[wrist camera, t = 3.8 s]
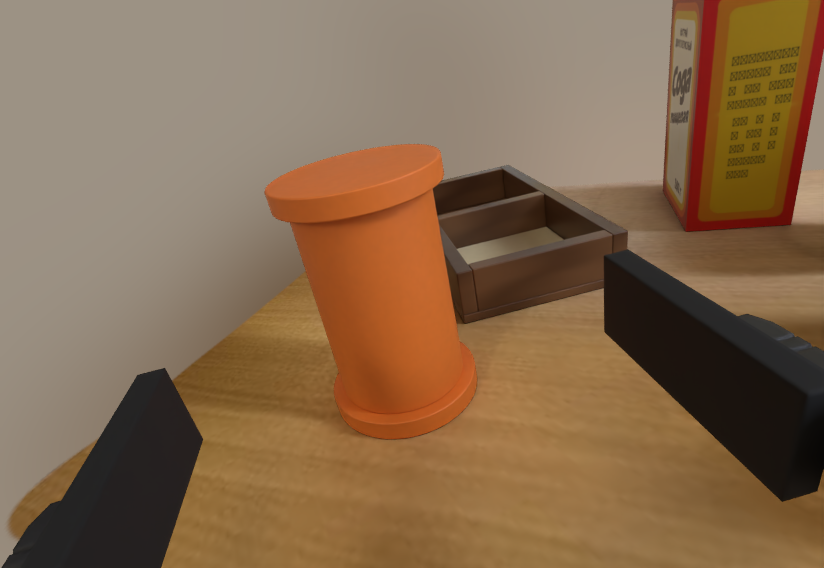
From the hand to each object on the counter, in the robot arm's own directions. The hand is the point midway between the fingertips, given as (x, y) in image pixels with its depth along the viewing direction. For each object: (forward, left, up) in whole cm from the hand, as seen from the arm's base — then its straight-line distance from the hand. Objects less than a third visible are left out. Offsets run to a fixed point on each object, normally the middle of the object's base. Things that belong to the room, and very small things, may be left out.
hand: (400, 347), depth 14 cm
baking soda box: (+28, +21, -8) cm, 36 cm away
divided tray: (+10, +24, -8) cm, 27 cm away
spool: (0, +9, -8) cm, 12 cm away
